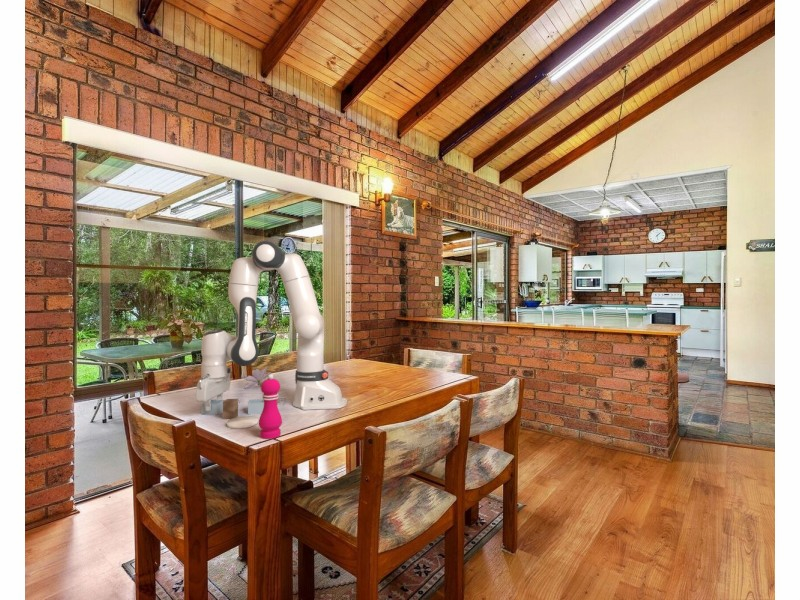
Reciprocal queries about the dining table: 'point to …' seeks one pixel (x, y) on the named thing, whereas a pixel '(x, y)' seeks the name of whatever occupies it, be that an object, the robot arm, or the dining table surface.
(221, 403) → the sleeve
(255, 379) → the water lily
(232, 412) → the walnut block
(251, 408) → the sleeve
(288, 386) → the dining table surface
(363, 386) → the dining table surface
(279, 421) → the pepper mill
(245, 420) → the plate
